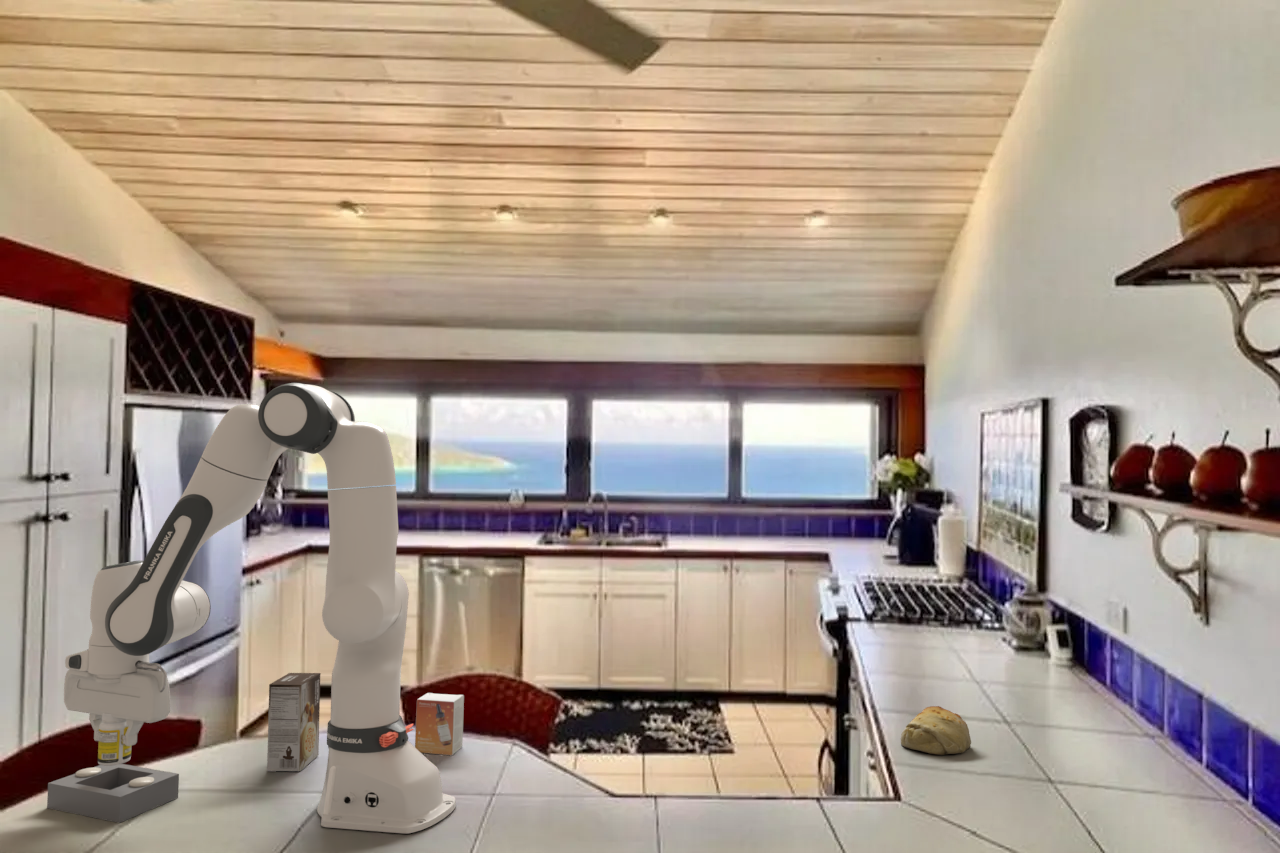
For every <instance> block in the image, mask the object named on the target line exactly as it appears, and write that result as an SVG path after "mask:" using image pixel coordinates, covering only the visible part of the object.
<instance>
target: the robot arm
mask: <svg viewBox="0 0 1280 853" xmlns="http://www.w3.org/2000/svg"><path fill="white" fill-rule="evenodd" d="M350 404H351V403H349V402H348V401H347V399H346V398H344V397H343V396H342V395H341V394H339V393H337V392H334V391H331V390H328V389H326V388H324V387H323V386H318V385H314V384H305V383H301V382H291V383H290V382H289V383H285V384H281V385H278V386H277V387H275V388H272V390H270V391H269V392H268V393H267V394H266V395H264V397H263V398H262V400H261V402H260V404H259V405H257V404H251V403H250V404H249V403H243V404H238V405H235V406H233V407H231V408H230V409H229V410H228V411H227V412H226V413H225V415H224V416H223V417H222V419H221V420H220V422H219V424H218V425H217V427H216V428H215V429H214V431H213V433H212V435H211V436H210V438H209V440H208V441H207V444H206V445H205V447H204V450H203V452H202V454H201V457H200V459H199V461H198V463H197V465H196V467H195V469H194V471H193V474H192V476H191V477H190V479H189V482H188V483H187V486H186V488H185V489H184V491H183V493H182V494H181V496H180V498H179V500H178V501H177V502H176V504H175V506H174V507H173V508H172V510H171V511H170V513H169V515H168V516H167V518H166V520H165V521H164V523H163V524H162V527H161V529H160V530H159V531H158V534H157V535H156V537H155V540H154V541H153V543H152V545H151V547H150V548H149V551H148V553H146V554H147V555H146V556H145V558H144V560H133V561H128V562H126V561H125V562H121V563H116V564H115V563H114V564H110V565H106V566H105V567H104V566H103V567H102V568H101V569H100V570H99V571H97V574H96V576H95V578H94V581H93V586H92V591H91V597H90V598H91V600H90V613H89V617H90V622H91V626H92V629H91V633H90V634H91V635H90V637H89V639H88V649H86V650H83V651H79V652H76V653H73V654H69V655H67V656H66V657H65V660H64V665H65V668H66V669H68V670H67V671H66V673H65V676H64V685H63V703H64V705H65V707H66V709H67V710H68V711H70V712H71V711H72V712H77V713H84V714H85V713H86V714H89V716H88V717H89V719H88V721H89V723H90V725H91V727H92V730H93V731H94V732H93V739H94V741H95V742H99V726H100V724H101V723H103V721H102V714H103V713H107V714H111V715H112V717H115V718H121V719H126V725H127V726H129V727H128V729H127V732H126V734H123V735H121V740H122V741H121V745H124V746H131V747H132V746H135V745H136V744H137V743H138V734H139V731H140V730H141V728H142V727H143V725H144V723H147V724H148V723H149V724H152V723H156V722H159V721H162V720H165V719H167V717H168V716H169V715H170V713H171V692H170V682H169V678H168V674H167V671H166V670H165V669H164V668H163V667H162V664H160V663H155V662H154V663H153V662H152V663H151V662H150V654H151V653H153V652H155V651H157V650H159V649H161V648H162V647H164V646H166V645H170V644H172V643H175V642H177V641H180V640H181V639H185V638H186V637H189V636H191V635H193V634H195V633H196V632H198V631H199V630H201V629H202V628H204V626H205V625H206V624H207V622H208V620H209V617H210V614H211V601H210V598H209V595H208V593H207V592H206V591H205V589H204V587H202V586H201V585H199V584H198V583H195V582H192V581H186V580H184V578H185V577H186V574H187V572H188V570H189V568H190V567H191V565H192V563H193V561H194V559H195V556H196V555H197V553H198V552H199V550H200V548H202V547H203V545H204V544H205V543H206V542H207V541H208V540H210V538H211V537H213V536H214V535H216V534H217V533H218V532H220V531H221V530H223V529H224V528H226V527H228V526H230V525H232V524H234V523H235V522H237V521H239V520H241V519H242V518H244V517H245V516H247V515H248V514H249V513H250V512H251V511H252V509H253V508H254V507H255V505H256V504H257V502H259V499H260V498H261V495H262V494H263V492H264V490H265V487H266V485H267V483H268V481H269V478H270V476H271V474H272V471H273V469H274V466H275V464H276V462H277V460H278V459H279V457H280V456H281V454H283V453H284V452H285V451H287V450H289V449H290V450H295V451H300V452H304V453H306V454H312V455H315V454H316V455H317V454H318V455H319V456H320V457H321V458H322V460H323V461H324V465H325V468H326V479H327V480H326V483H327V501H328V503H327V505H328V521H329V522H328V524H329V545H328V554H327V564H326V576H325V577H326V578H325V593H324V594H325V596H324V602H323V605H322V612H321V614H322V615H321V617H322V622H323V625H324V628H325V629H326V631H327V632H328V634H329V635H331V637H332V638H334V639H335V640H337V641H338V644H337V650H336V655H335V659H334V665H333V667H332V668H333V669H332V672H331V686H330V687H331V688H330V689H331V690H330V692H331V693H330V720H329V721H327V729H326V731H327V732H326V745H327V748H328V756H327V763H326V770H325V772H326V773H325V778H324V781H323V782H324V783H323V788H322V792H321V796H320V800H319V803H318V805H317V808H316V811H317V814H318V815H319V817H320V818H321V819H320V820H321V821H320V825H321V827H324V828H329V829H330V828H333V829H344V830H357V831H358V830H359V831H368V832H380V833H381V832H383V833H393V834H394V833H395V834H411V833H416V832H419V831H422V830H424V829H427V828H430V827H431V826H434V825H435V824H437V823H439V822H441V821H442V820H444V819H445V818H446V817H448V816H449V815H450V814H451V813H452V812H453V811H454V810H455V808H456V806H457V803H456V797H455V796H453V795H450V794H447V793H443V785H442V784H443V783H442V777H441V773H440V770H439V768H438V767H437V766H436V765H435V764H434V763H433V762H432V761H430V760H429V759H428V758H427V757H426V756H425V755H424V753H421V752H419V751H418V750H417V749H416V748H415V745H413V744H412V743H411V742H410V741H409V735H408V733H409V732H411V731H414V728H412V727H413V726H414V723H410V724H408V725H406V726H405V722H404V720H403V718H402V716H401V715H400V713H401V711H400V710H401V709H400V708H401V706H400V705H401V681H402V680H401V677H402V676H401V675H402V674H401V673H402V663H403V656H404V655H403V654H404V648H405V638H406V632H407V631H406V628H407V622H408V620H407V619H408V608H409V607H408V605H409V596H410V595H409V587H408V584H407V582H406V580H405V578H404V577H403V576H402V574H400V573H399V572H398V571H397V570H396V558H397V546H398V538H399V537H398V536H399V532H400V531H399V516H398V498H397V497H398V496H397V482H396V481H397V480H396V470H395V462H394V457H393V452H392V448H391V444H390V441H389V437H388V434H387V433H386V431H385V430H384V429H383V428H382V427H381V426H379V425H377V424H375V423H372V422H367V421H356V420H355V418H356V417H355V414H354V410H353V408H352V406H351V405H350Z"/></svg>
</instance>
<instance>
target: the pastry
mask: <svg viewBox="0 0 1280 853" xmlns="http://www.w3.org/2000/svg"><path fill="white" fill-rule="evenodd" d="M971 744H972V740H971V735H970V730H969V727H968V724H967V722H966V721H965V720H964V719H963V717H962V716H961V715H959V714H958V713H957V712H956V713H954V712H952V711H951V710H949V709H945V708H943V707H942V706H940V705H937V706H936V705H935V706H934V705H933V706H932V705H930V706H927V707H925V708H924V709H923V710H922V711H921V712H919V713H918V714H916V716H915V717H914V718H913V719H912V720H911V721H910V722H909V723H908V724H906V725H905V728H904V729H903V730H902V731H901V735H900V745H901V746H902V747H904V748H907V749H909V750H914V751H919V752H922V753H928V754H931V755H936V756H937V755H939V756H946V755H956V754H963V753H965V752H966V751H967V750H969V749H970V748H971Z"/></svg>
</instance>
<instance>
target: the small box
mask: <svg viewBox="0 0 1280 853" xmlns="http://www.w3.org/2000/svg"><path fill="white" fill-rule="evenodd" d="M464 703H465V695H464V694H448V693H433V692H427V693H425V694H423V695H422V696H420V697H419V698H417V700H416V709H415V710H416V713H415V716H416V717H415V735H414V740H415V741H414V747H415V748H416V749H417V750H418V751H419V752H421V753H422V754H432V755H443V756H449V755H450V756H451V757H452V756H453V755H455V753H457V752H458V751H459V750H460V749H461V748H462V747H463V741H464V739H463V737H464V736H463V735H464V710H465V708H464V707H465V706H464Z"/></svg>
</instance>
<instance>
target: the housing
mask: <svg viewBox="0 0 1280 853" xmlns="http://www.w3.org/2000/svg"><path fill="white" fill-rule="evenodd" d="M179 782H180V773H176V772H170V771H164V770H160V769H154V768H147V767H142V766H136V765H131V764H126V763H122V764H119V765H113V766H103V765H100V764H98V765H96V766H94V767H86V768H82V769H79V770H77V771H76V772H75V773H73V774H70V775H67V776H65V777H61V778H59V779H56V780H53V781H51V782H48V783H47V803H46V804H47V805H46V808H47V809H50V810H51V809H52V810H56V811H60V812H64V813H65V812H66V813H70V814H76V815H79V814H80V816H86V817H89V818H90V817H91V818H94V819H99V820H104V821H109V822H113V823H118V824H119V823H123V822H125V821H127V820H129V819H132V818H133V817H136V816H138V815H141V814H143V813H146V812H148V811H150V810H153V809H156V808H157V807H160V806H162V805H164V804H167V803H169V802H172V801H174V800H176V799H179V786H180V783H179Z"/></svg>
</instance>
